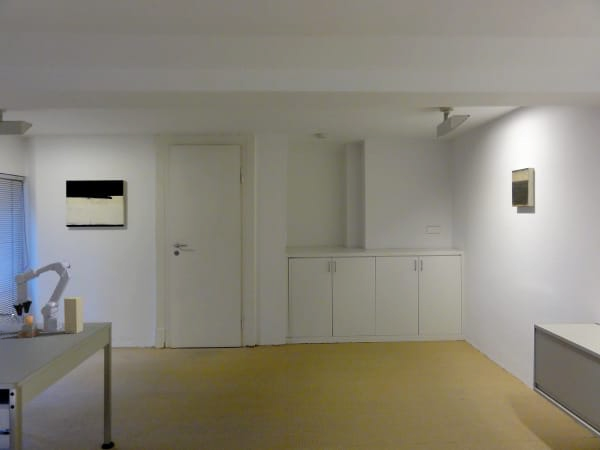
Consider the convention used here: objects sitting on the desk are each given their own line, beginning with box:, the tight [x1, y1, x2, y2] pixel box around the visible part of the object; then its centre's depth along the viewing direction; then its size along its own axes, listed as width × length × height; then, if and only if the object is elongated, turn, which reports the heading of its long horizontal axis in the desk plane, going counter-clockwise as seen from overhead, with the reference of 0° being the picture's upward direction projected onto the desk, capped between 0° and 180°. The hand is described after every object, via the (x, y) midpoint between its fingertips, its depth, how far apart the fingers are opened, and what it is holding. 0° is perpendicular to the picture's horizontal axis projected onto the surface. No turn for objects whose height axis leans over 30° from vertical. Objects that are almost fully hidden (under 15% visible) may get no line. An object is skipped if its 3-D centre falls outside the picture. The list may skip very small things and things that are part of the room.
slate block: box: [21, 322, 39, 332], centre depth 259 cm, size 6×6×4 cm
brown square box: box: [17, 328, 40, 339], centre depth 259 cm, size 8×8×4 cm
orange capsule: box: [24, 315, 34, 326], centre depth 259 cm, size 4×4×5 cm
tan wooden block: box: [63, 296, 84, 334], centre depth 266 cm, size 8×7×21 cm
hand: (23, 314), depth 271 cm, fingers open, 7 cm apart
